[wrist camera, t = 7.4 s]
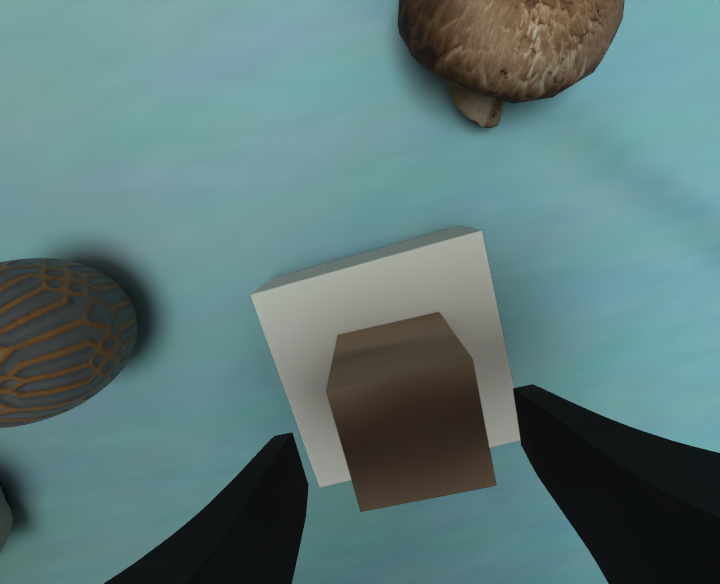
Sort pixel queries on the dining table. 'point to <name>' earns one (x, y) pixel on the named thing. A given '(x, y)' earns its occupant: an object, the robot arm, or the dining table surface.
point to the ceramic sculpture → (4, 519)
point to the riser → (377, 307)
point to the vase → (59, 337)
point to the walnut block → (408, 413)
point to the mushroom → (507, 47)
